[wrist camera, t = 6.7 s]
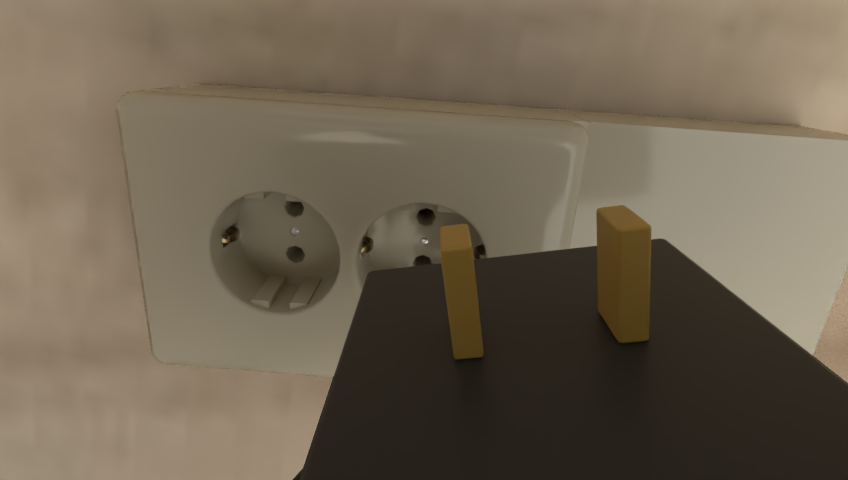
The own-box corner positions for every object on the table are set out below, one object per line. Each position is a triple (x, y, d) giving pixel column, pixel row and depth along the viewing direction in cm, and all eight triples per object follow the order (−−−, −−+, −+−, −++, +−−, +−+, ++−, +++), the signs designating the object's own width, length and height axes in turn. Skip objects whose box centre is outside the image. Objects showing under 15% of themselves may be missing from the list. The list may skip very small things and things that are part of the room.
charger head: (408, 491, 9) (380, 893, 5) (352, 193, 7) (215, 401, 3) (657, 470, 9) (876, 882, 4) (668, 153, 7) (1074, 319, 2)
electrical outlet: (819, 420, 13) (146, 370, 13) (734, 338, 17) (212, 300, 17) (933, 151, 11) (104, 91, 11) (803, 126, 14) (192, 82, 15)
